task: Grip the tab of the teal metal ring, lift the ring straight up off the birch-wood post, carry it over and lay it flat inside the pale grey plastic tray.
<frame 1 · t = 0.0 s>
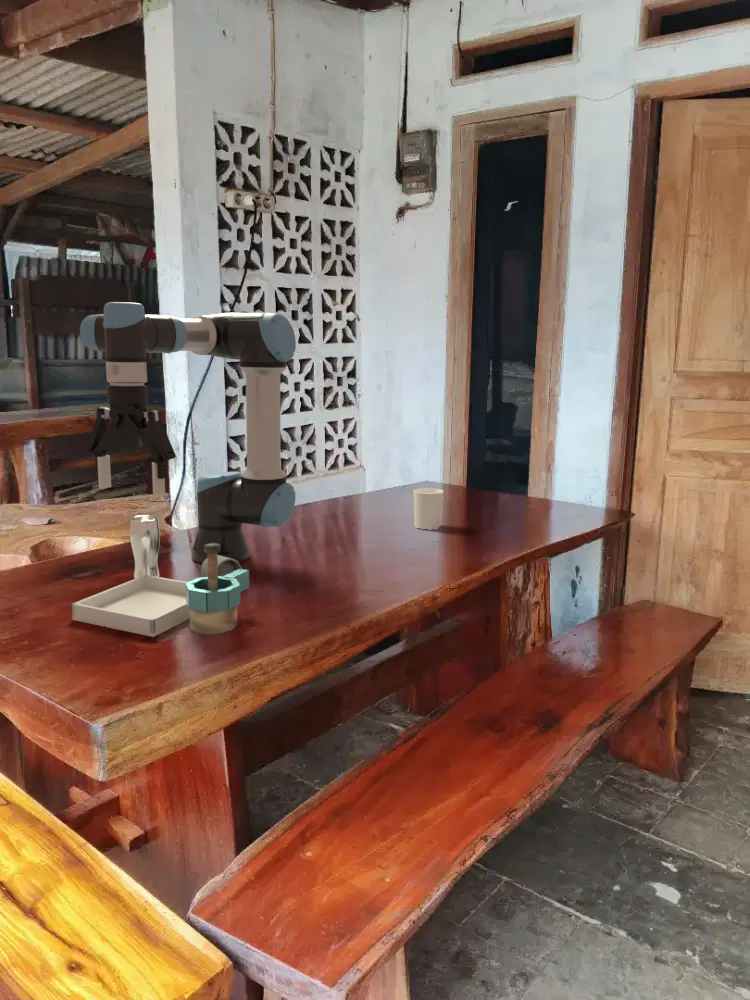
hand: (131, 491, 154), 28 cm above the table, tool pointing down, fingers open, 13 cm apart
wooden peg stand: (213, 625, 159), on the table
beer glass: (146, 577, 191), on the table
ring: (213, 602, 158), point 5 cm above the table, touching wooden peg stand
candle holder: (427, 527, 248), on the table
tray: (149, 610, 167), on the table
ceramic mug: (216, 588, 184), on the table
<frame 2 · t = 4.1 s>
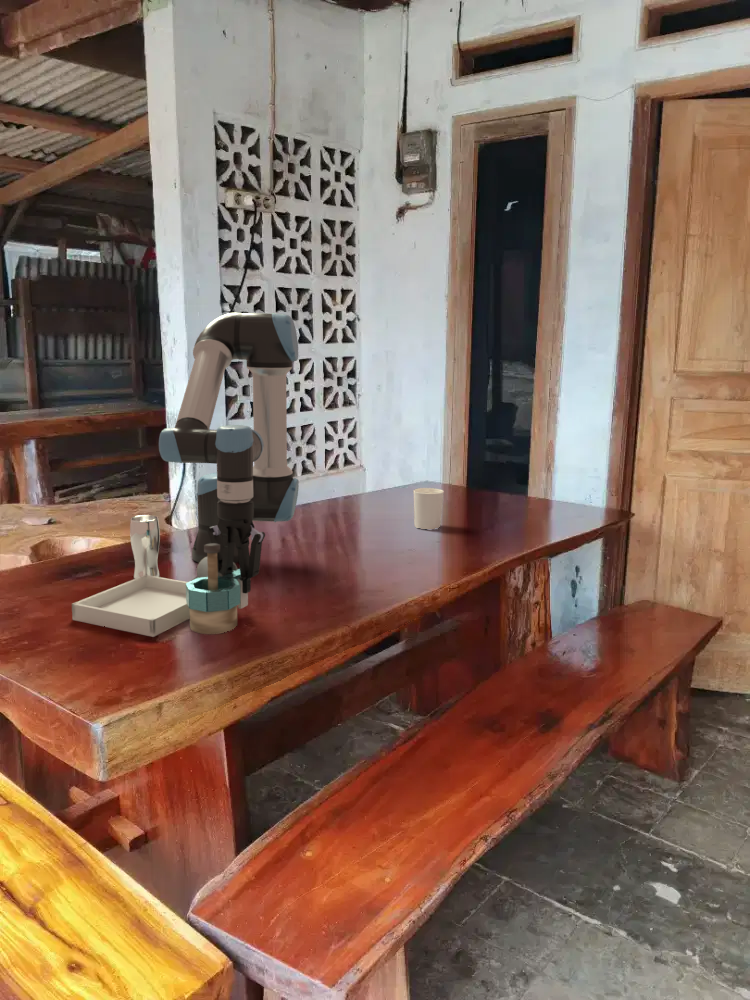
hand: (236, 605, 167), 2 cm above the table, tool pointing down, fingers closed on ring, 2 cm apart
ring: (213, 602, 158), point 5 cm above the table, touching gripper, wooden peg stand
ceramic mug: (212, 589, 183), on the table
everything else where it was.
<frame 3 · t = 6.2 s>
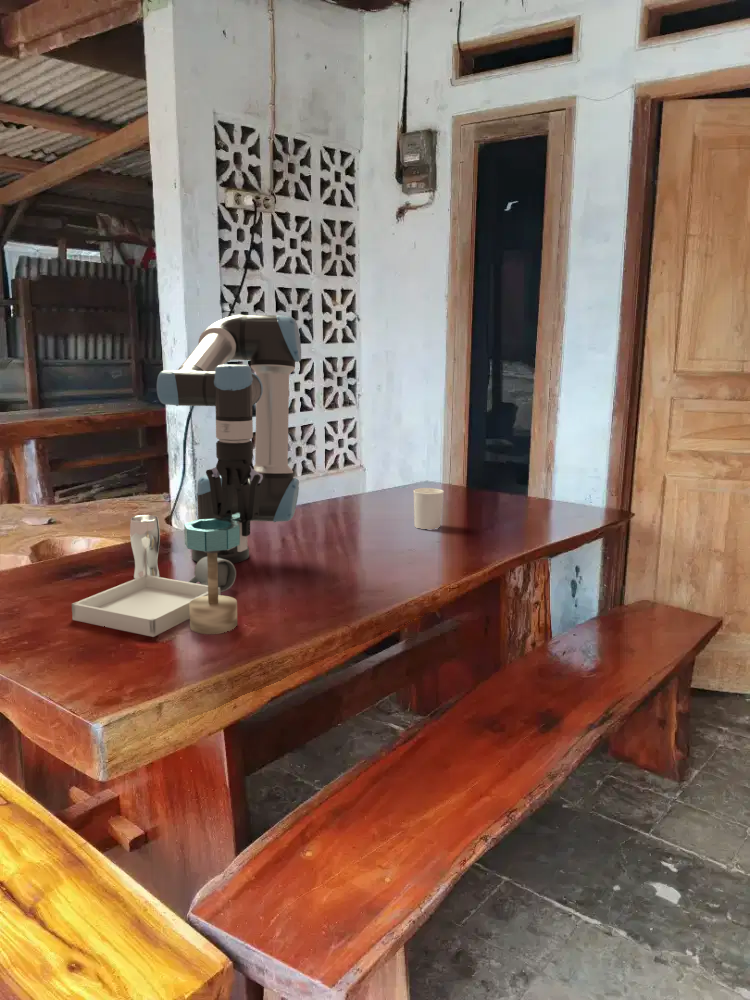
hand: (236, 549, 165), 14 cm above the table, tool pointing down, fingers closed on ring, 2 cm apart
ring: (212, 543, 156), point 17 cm above the table, touching gripper
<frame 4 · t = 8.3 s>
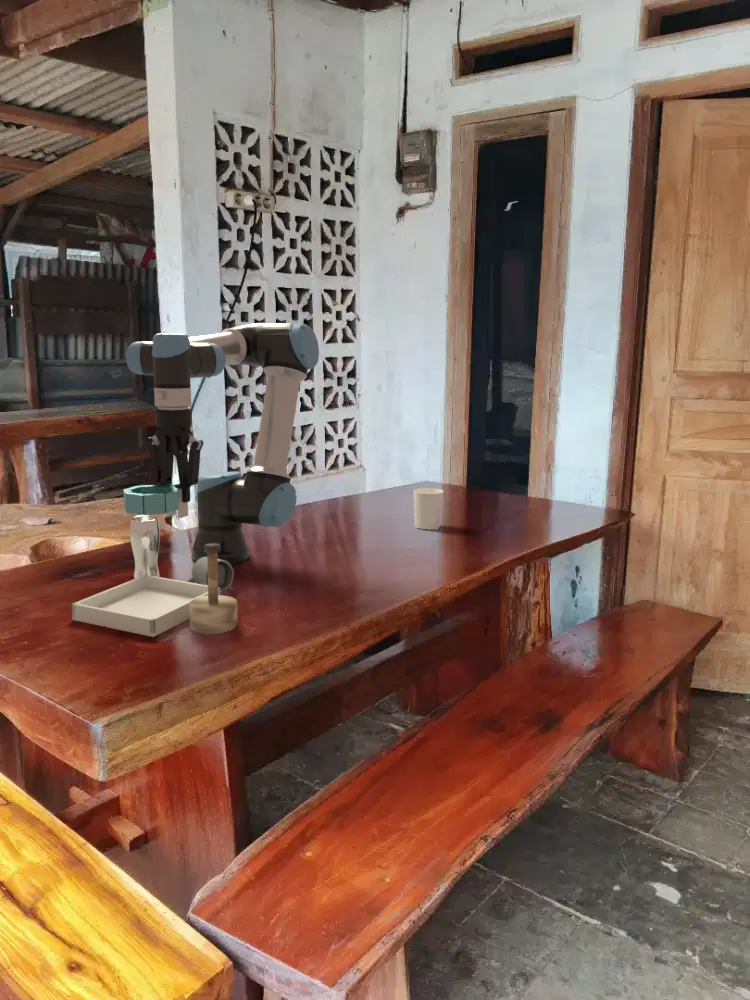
hand: (177, 515, 168), 20 cm above the table, tool pointing down, fingers closed on ring, 2 cm apart
ring: (151, 508, 159), point 23 cm above the table, touching gripper
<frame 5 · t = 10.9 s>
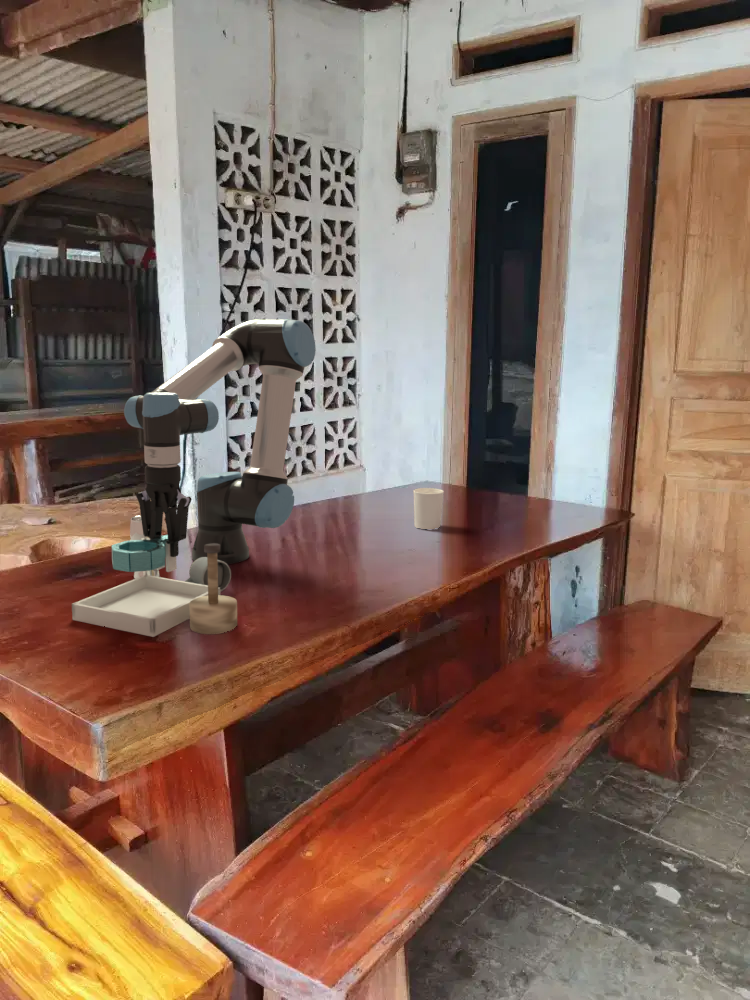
hand: (165, 569, 171), 8 cm above the table, tool pointing down, fingers closed on ring, 2 cm apart
ring: (138, 564, 162), point 11 cm above the table, touching gripper
when the fingers open (2 cm above the table, at t = 12.7 s): ring drops 4 cm, resting on tray.
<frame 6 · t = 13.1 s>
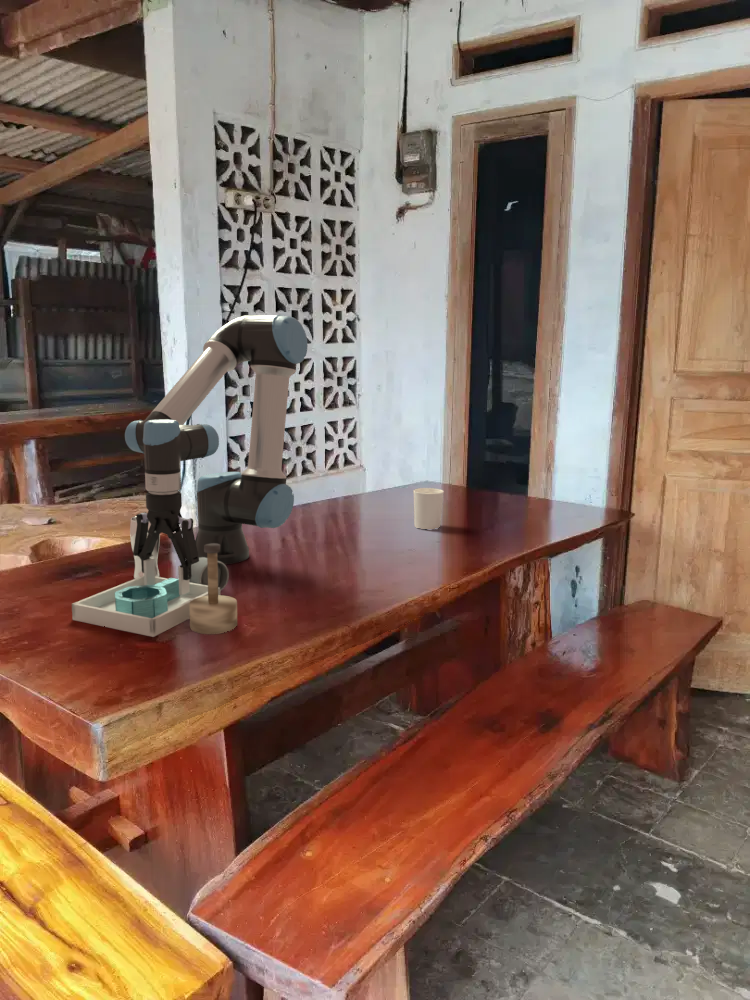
hand: (166, 590, 172), 3 cm above the table, tool pointing down, fingers open, 9 cm apart
ring: (141, 610, 165), point 1 cm above the table, touching tray
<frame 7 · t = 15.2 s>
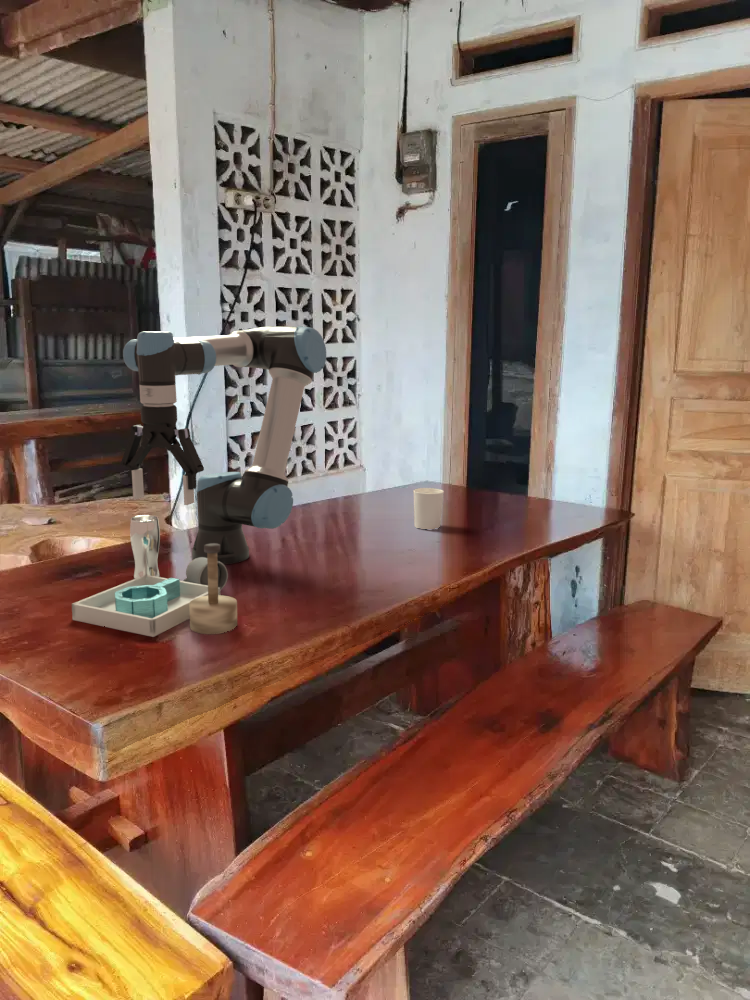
hand: (163, 501, 170), 23 cm above the table, tool pointing down, fingers open, 13 cm apart
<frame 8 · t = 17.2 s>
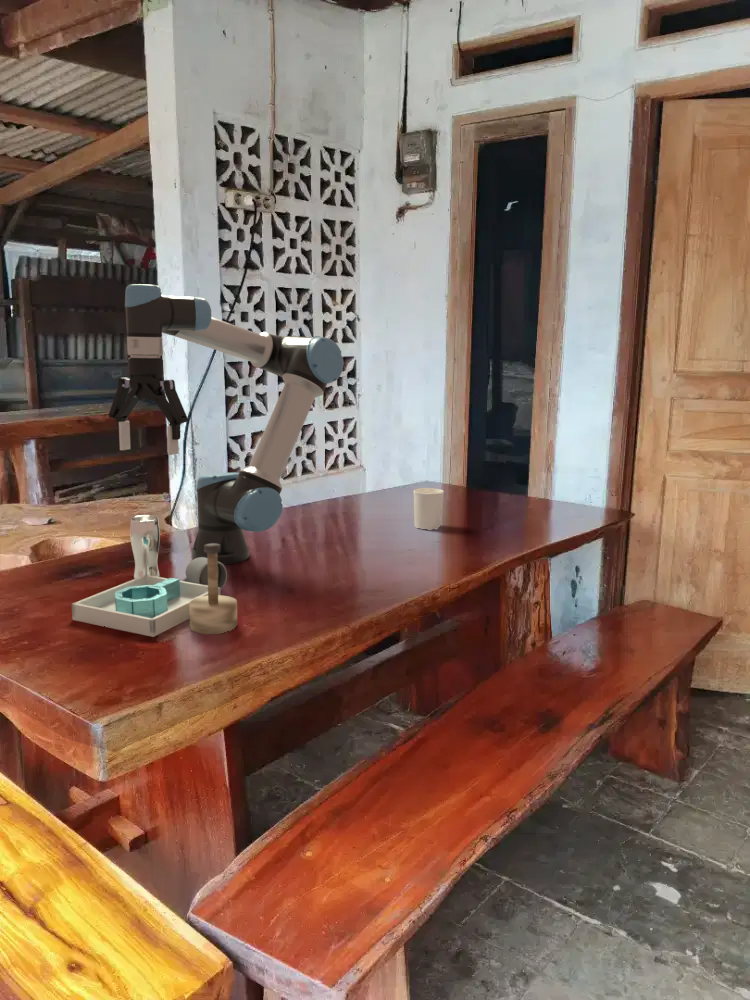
hand: (148, 452, 175), 33 cm above the table, tool pointing down, fingers open, 13 cm apart
ceramic mug: (201, 591, 182), on the table, touching tray
everything else where it was.
at the end: ring inside the target area on the tray (1.5 cm from its centre), point 0.8 cm above the tray's base; ring tilted 0°; ring touching tray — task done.
